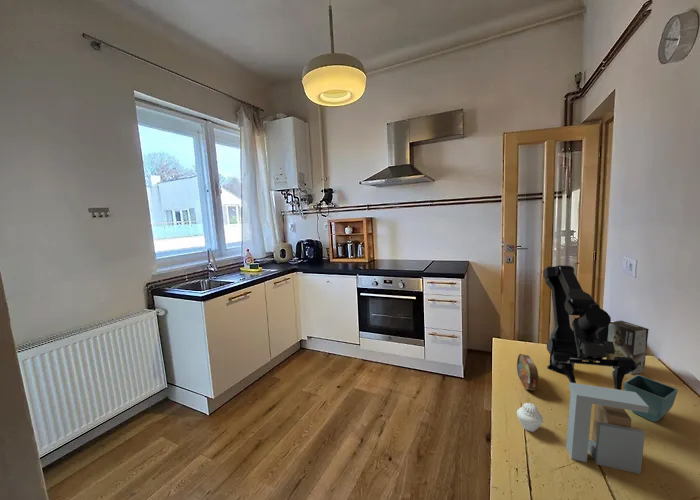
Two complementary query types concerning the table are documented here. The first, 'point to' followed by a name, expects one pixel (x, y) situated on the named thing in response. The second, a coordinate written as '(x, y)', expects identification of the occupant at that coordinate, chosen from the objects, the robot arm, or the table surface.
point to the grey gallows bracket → (604, 428)
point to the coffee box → (629, 342)
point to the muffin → (529, 417)
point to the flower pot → (652, 396)
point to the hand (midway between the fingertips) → (597, 394)
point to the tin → (527, 372)
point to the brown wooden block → (609, 418)
